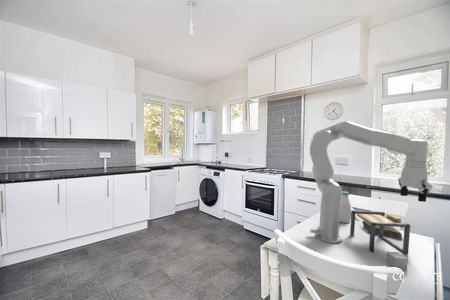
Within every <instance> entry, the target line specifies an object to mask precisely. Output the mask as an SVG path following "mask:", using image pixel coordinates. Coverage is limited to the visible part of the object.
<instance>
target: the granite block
mask: <svg viewBox="0 0 450 300" xmlns="http://www.w3.org/2000/svg"><path fill="white" fill-rule="evenodd" d="M408 261H409V259H408V257H406V256H404V255H403V254H401V252H398V251H386V253H385V263H386V264H387V265H388V266H389V267H390V268H392V267H397V268H400V269H402V270H401V271H408V264H409V262H408Z"/></svg>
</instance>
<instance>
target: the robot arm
mask: <svg viewBox="0 0 450 300" xmlns="http://www.w3.org/2000/svg"><path fill="white" fill-rule="evenodd" d="M341 138H344V139H347V140H350V141H353V142H357V143H360V144H362V145H366V146H371V147H378V148H384V149H386V151H387V152H389V153H391V154H396V155H398V154H399V155H405V161H404V166H403V167H402V170H401V173H400V174H401V175H400V177H398V178H397V181H398V184H399V188H400V196H401V197H407V196H408V194H409V189H408V188H412V189H417V190H418V196H417V198H418V199H417V201H418V202H419V203H420V202H422V203H423V202H427V195H428V194H429V193H430V192H431V190H432V189H433V185H432V184H431V183H430V182H428V170H427V168H426V167H427V156H428V146H429V144H428V141H427V140H424V139H411V138H408V137H405V136H402V135H398V134H395V133H391V132H385V131H382V130H378V129H375V128H374V129H373V128H371V127H370V128H369V127H367V126H363V125H360V124H357V123H353V122H351V121H342V122H338V123H336V124H332V125H331V126H328V127H326V128H322V129H321V130H318V131H316V132H315V133H314V134H313V135H312V140H311V143H310V145H309V155H310V159H311V161H312V169H311V170H312V173H313V174H312V175H313V177H314V180H315V182H316V184H317V185H316V186H317V188H318V190H319V192H321V199H320V208H319V209H320V212H319V226H317V228H315V229H314V228H310V233H312V234H314V235H315V237H317V239H319V240H321V241H323V242H326V243H330V244H340V243H342V241H343V238H342V237H341V236H340V221H339V220H340V204H341V199H342V191H343V189H342V187H341V186H340V184H339V183H338V182H336V181H335V180H334V177H333V176H334V174H335V173H334V172H335V171H334V168H333V166H332V163H331V161H330V158H329V154H328V146H329V145H330V144H331V143H332V142H334V141H337V140H338V139H341Z"/></svg>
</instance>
